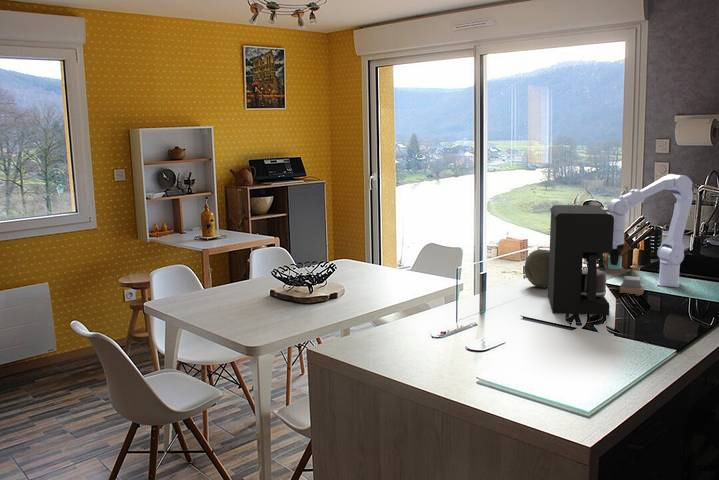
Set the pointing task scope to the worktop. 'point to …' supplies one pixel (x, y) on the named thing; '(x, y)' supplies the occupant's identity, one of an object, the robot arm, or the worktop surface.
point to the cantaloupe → (538, 268)
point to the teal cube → (615, 265)
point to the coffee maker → (578, 258)
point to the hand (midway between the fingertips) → (615, 263)
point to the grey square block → (631, 282)
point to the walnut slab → (632, 290)
